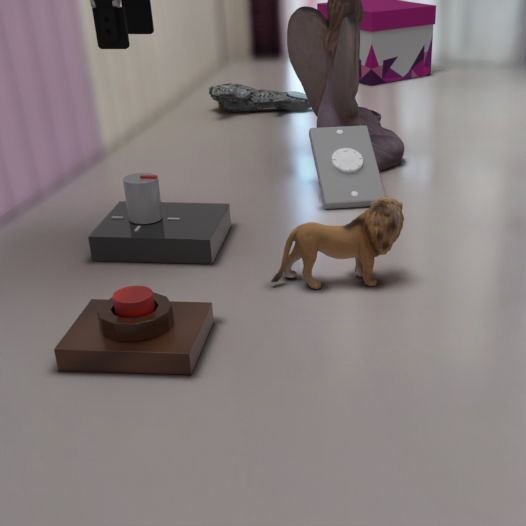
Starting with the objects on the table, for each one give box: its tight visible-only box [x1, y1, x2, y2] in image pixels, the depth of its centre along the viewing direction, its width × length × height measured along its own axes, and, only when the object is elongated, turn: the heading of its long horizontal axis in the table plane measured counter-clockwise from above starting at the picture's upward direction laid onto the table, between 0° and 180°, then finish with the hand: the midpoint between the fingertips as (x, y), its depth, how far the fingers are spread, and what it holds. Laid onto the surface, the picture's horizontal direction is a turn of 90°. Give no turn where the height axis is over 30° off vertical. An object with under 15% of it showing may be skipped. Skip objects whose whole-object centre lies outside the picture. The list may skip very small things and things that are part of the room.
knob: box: [122, 172, 163, 224], centre depth 94 cm, size 4×4×5 cm
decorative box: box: [316, 0, 437, 86], centre depth 183 cm, size 19×19×15 cm
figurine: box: [286, 0, 405, 172], centre depth 121 cm, size 18×15×25 cm
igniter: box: [53, 291, 215, 376], centre depth 74 cm, size 12×10×4 cm
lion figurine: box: [270, 196, 405, 290], centre depth 86 cm, size 15×5×9 cm, turn 104°
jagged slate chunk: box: [208, 82, 311, 113], centre depth 154 cm, size 16×20×5 cm
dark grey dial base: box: [87, 200, 232, 265], centre depth 96 cm, size 14×12×3 cm
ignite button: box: [111, 285, 155, 318], centre depth 73 cm, size 4×4×2 cm
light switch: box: [308, 125, 387, 210], centre depth 113 cm, size 8×6×14 cm
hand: (127, 40), depth 87 cm, fingers open, 9 cm apart
